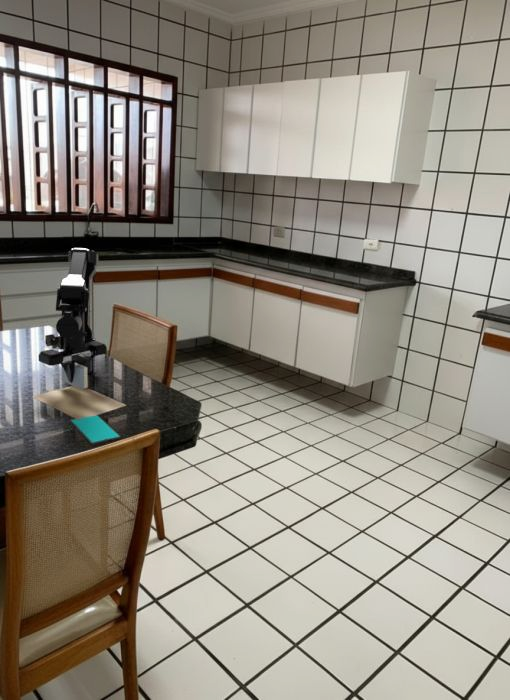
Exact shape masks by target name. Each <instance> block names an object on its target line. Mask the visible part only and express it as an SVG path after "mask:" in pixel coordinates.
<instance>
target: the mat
mask: <svg viewBox="0 0 510 700" xmlns="http://www.w3.org/2000/svg"><path fill="white" fill-rule="evenodd" d="M31 397H32V398H34V399H35V400H37V401H40V402H42V403H43V404H46V405H48V406H49V407H51V408H54V409H55V410H57V411H59V412H62V413H64V414H65V415H67V416H69V417H71V418H72V419H78V420H80V418H85V417H90V416H95V415H98V416H99V415H102V414H104V413H108V412H111V411H114V410H118V409H120V408H124V407H127V404H125V403H123V402H121V401H118V400H116V399H113V398H111V397H109V396H106V395H105V394H102V393H100V392H99V391H98V392H97V391H96V390H93V389H90V388H89V387H87V388H84V389H79V388H77V387H75V386H73V385H70V386H66V387H62V388H59V389H55V390H51V391H47V392H43V393H41V394H37V395H32V396H31Z"/></svg>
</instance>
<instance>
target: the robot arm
mask: <svg viewBox="0 0 510 700" xmlns="http://www.w3.org/2000/svg"><path fill="white" fill-rule="evenodd" d="M67 262H68V264H69V268H68V273H67V277H65V278H63V279H62V280H61V282H60V286H59V287H57V289H56V290H57V293H56V302H55V311H56V312H57V311H58V312H61V316H60V318H59V319H58V320H57V322H56V324H55V329H56V332H57V334H58V335H59V336H55V334H54V333H52V334H46V335H45V337H44V338H45V345H46V347H52V349H47V350H41V351H40V352H39V354H38V362H41V363H42V364H45V365H47V366H51V367H52V366H58V365H61V368H62V367H63V369H64V371H65V373H66V376H67V378H68V380H69V382H71V383H72V382H73V377H74V367H75V363H78V364H80V365H83V366H85V367H87V377H89V376H92V375H95V374H98V373H97V371H95V370H94V369H95V368H94V367H95V366H94V359H95V358H96V357H97V356H103V355H106V354H107V353H108V347H107V345H106V344H105V343H102V342H100V341H97V340H96V338H95V333H94V332H93V330H92V328H91V326H90V309H91V308H90V306H91V305H90V304H91V303H90V302H91V300H90V299H91V280H92V278H93V277H94V276H95V274H96V272H97V267H98V266H99V254H98V252H95V250H90V249H88V248H86V247H85V248H84V247H73V248H71V250H68V261H67ZM57 348H58V350H60V351H58V350H56V349H57ZM107 355H108V354H107Z"/></svg>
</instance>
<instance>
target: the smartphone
mask: <svg viewBox="0 0 510 700" xmlns="http://www.w3.org/2000/svg"><path fill="white" fill-rule="evenodd" d="M69 421H70V422H71V423H72V424H73V427H74V428H75V429H76V430H77V431H78V432H79V434H80V435H82V437H83V438H84V439H85V440H86V441H87V442H89V444H90V445H92V446H93V445H97V444H102V443H105V442H110V441H114V440H120V439H121V438H122V436H121V435H120V434H119V433H118V432H117V431H116V430H115V429H114V428H112V427H111V425H109V424H108V423H107V422H106V421H105V420H104V419H103V418H102V417H101V416H99V415H95V416H90V417H85V418H80V420H78V419H75V418H72V419H69Z"/></svg>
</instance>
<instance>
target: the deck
mask: <svg viewBox="0 0 510 700" xmlns="http://www.w3.org/2000/svg"><path fill="white" fill-rule="evenodd" d="M88 381H89V380H88V376H87V367H85V366H83V365H80V364H78V363H75V367H74V377H73V382H72V383H71V382H69V380H68V378H67V376H66V373H65V371H64V369H63V367H62V366H61V382H64V383H65V384H66V383H67V385H70V386H75V387H77V388H79V389H84V388H89V387H88Z"/></svg>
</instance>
